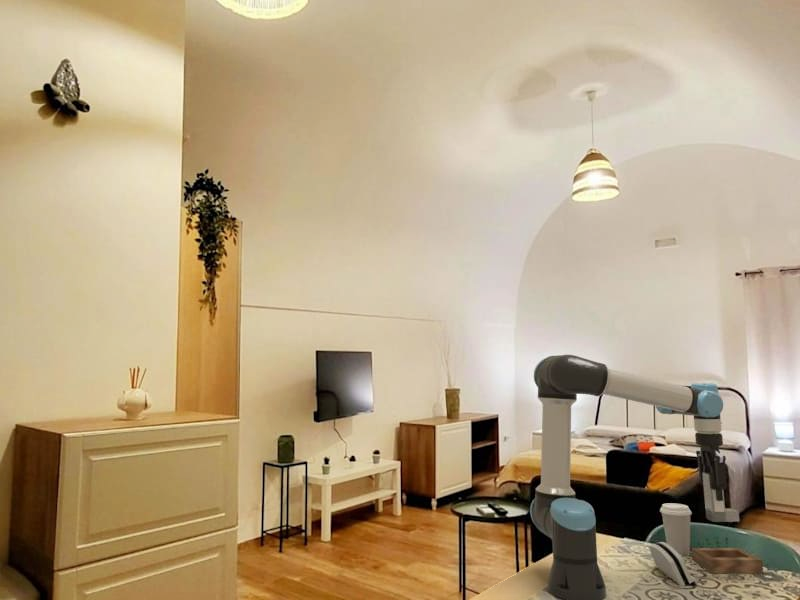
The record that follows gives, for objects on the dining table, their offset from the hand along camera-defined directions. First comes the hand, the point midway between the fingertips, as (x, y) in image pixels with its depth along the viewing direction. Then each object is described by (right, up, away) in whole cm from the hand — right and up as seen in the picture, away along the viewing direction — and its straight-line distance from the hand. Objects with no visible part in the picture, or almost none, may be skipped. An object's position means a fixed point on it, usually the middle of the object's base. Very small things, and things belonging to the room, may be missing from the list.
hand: (715, 509), depth 175 cm
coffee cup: (-5, -19, +12) cm, 23 cm away
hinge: (-18, -16, -10) cm, 26 cm away
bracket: (+2, -3, -1) cm, 4 cm away
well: (+2, -17, -2) cm, 17 cm away
